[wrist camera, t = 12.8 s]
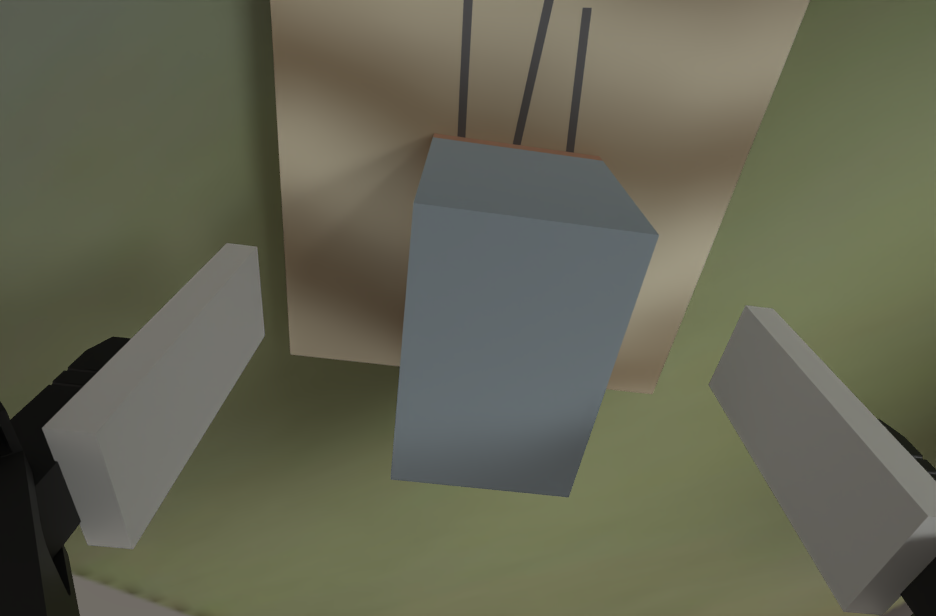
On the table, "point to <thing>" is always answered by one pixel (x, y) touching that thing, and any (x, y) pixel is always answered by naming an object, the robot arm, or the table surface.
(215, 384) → the robot arm
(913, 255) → the table surface
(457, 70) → the board
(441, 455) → the block
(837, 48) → the table surface
